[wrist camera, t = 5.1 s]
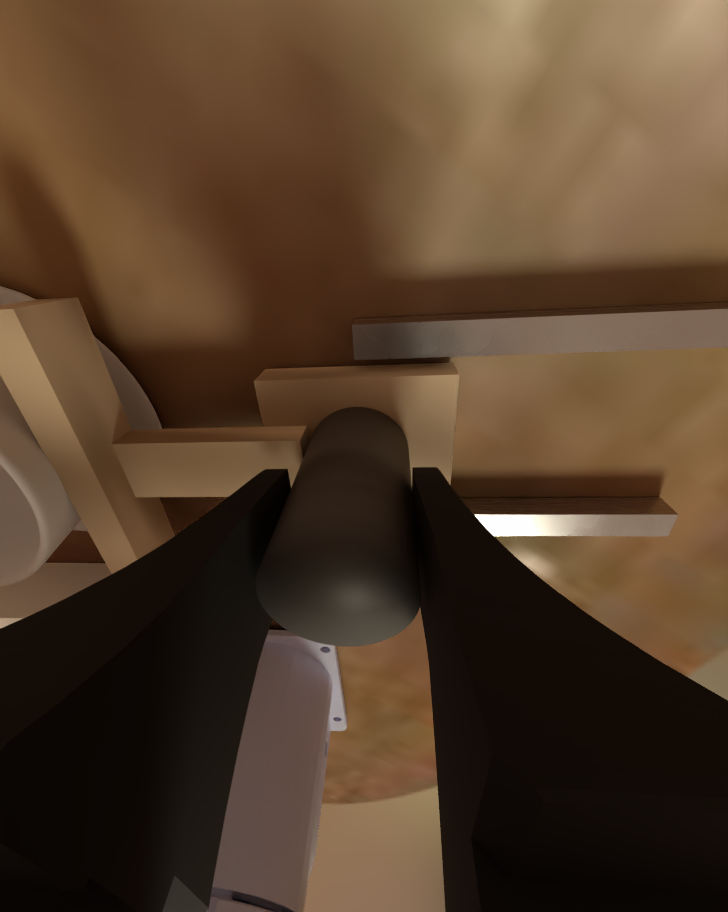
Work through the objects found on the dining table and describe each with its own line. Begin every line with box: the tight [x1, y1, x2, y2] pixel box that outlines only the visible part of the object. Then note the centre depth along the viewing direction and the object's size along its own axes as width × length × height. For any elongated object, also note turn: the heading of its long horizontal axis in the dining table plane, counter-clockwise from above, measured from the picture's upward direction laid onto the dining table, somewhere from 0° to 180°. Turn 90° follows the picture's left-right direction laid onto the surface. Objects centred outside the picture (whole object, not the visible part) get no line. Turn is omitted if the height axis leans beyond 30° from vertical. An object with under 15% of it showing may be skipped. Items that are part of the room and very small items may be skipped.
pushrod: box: [0, 297, 459, 646], centre depth 10 cm, size 10×12×7 cm
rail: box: [352, 302, 728, 536], centre depth 12 cm, size 8×11×1 cm
